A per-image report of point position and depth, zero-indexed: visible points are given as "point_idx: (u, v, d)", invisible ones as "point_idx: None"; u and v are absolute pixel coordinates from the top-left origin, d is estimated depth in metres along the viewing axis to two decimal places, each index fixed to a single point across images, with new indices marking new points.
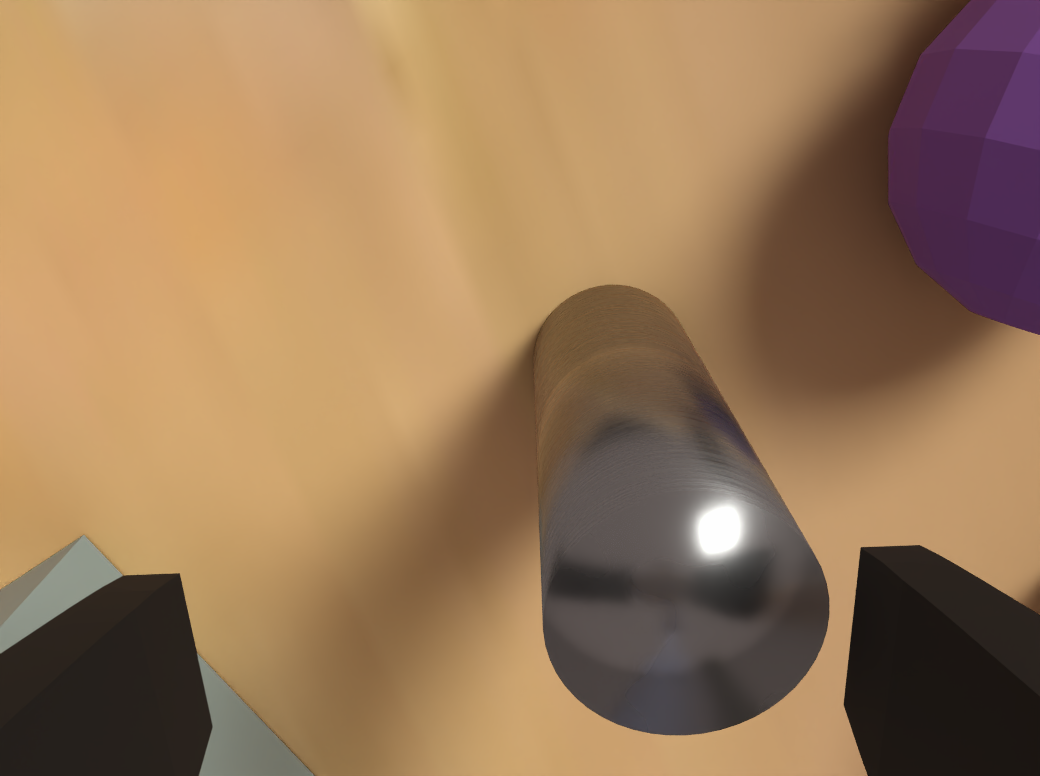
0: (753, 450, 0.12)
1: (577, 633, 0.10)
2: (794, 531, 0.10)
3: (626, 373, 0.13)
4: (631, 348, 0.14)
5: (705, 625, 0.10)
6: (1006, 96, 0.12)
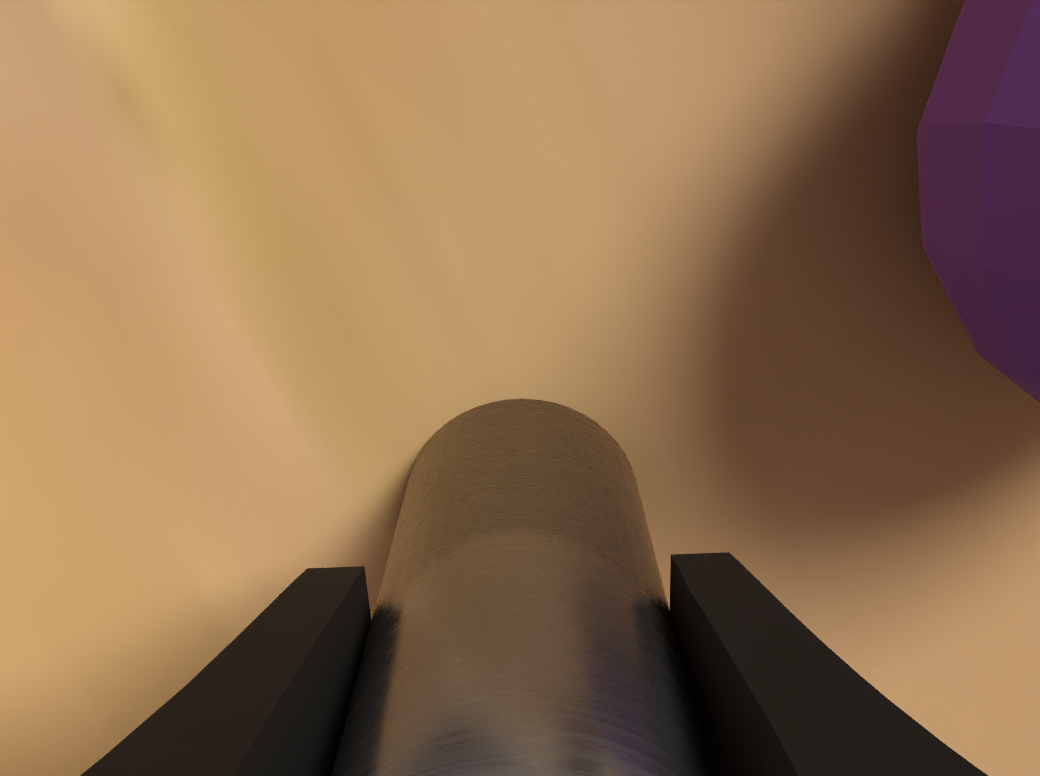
0: None
1: None
2: None
3: (468, 654, 0.07)
4: (496, 571, 0.08)
5: None
6: None
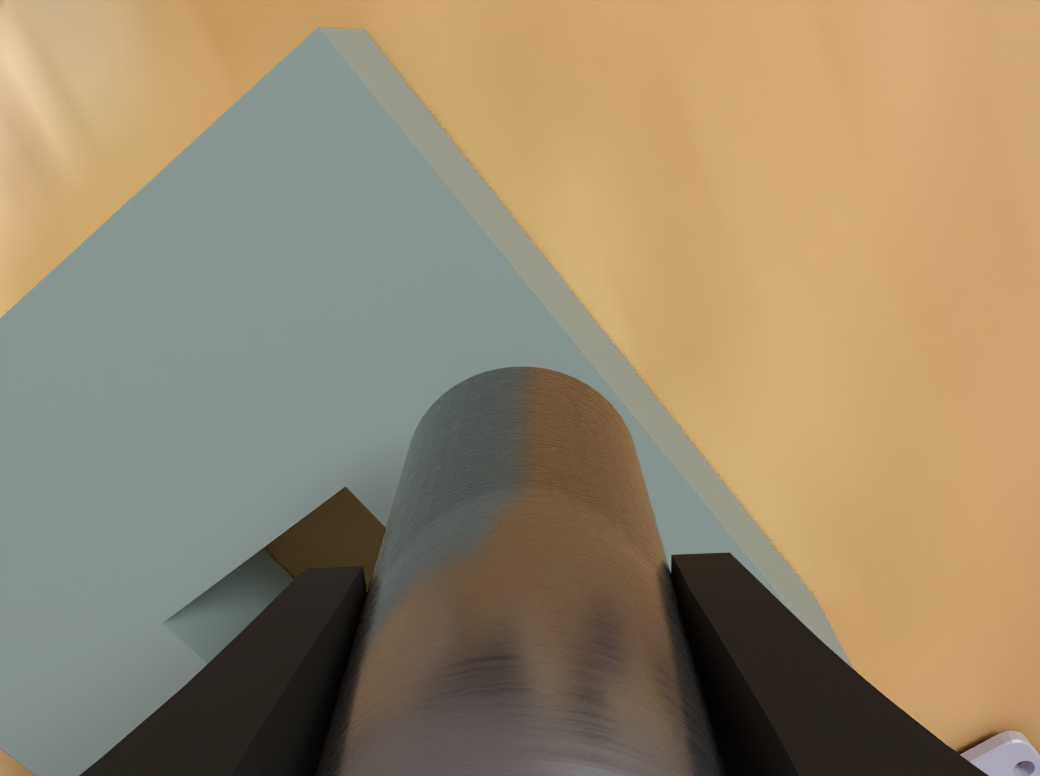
0: None
1: None
2: None
3: (508, 588, 0.07)
4: (532, 518, 0.08)
5: None
6: None
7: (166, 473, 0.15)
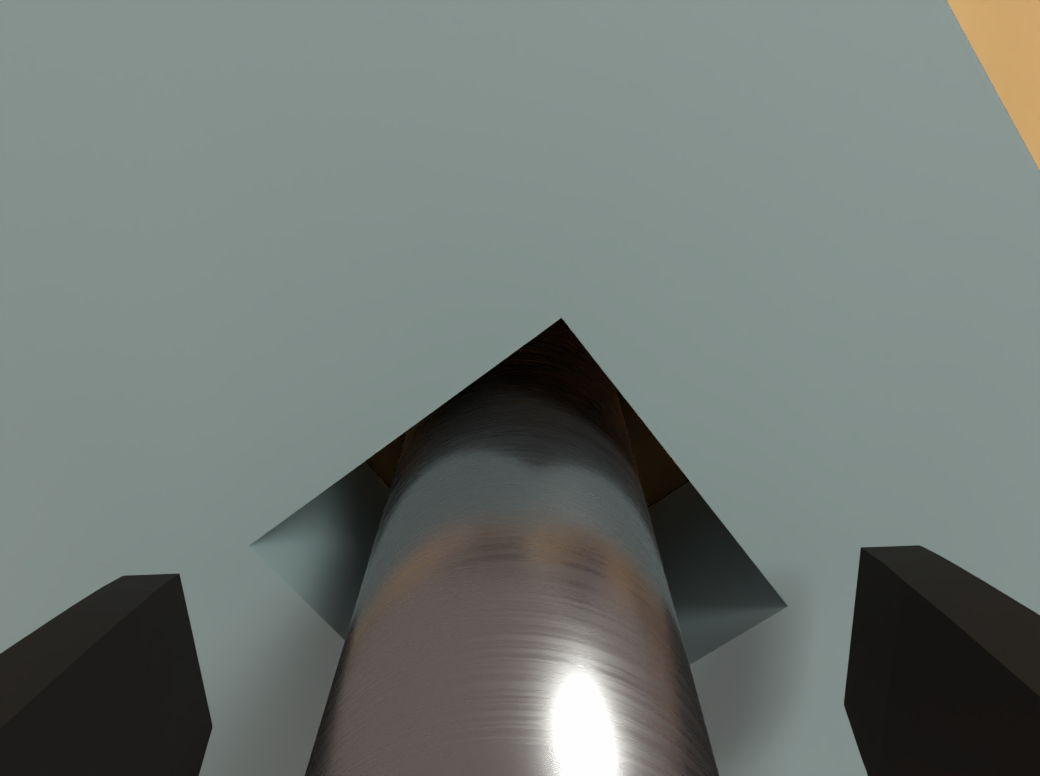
0: (674, 620, 0.08)
1: None
2: None
3: (512, 463, 0.09)
4: (531, 420, 0.10)
5: None
6: None
7: (269, 291, 0.09)
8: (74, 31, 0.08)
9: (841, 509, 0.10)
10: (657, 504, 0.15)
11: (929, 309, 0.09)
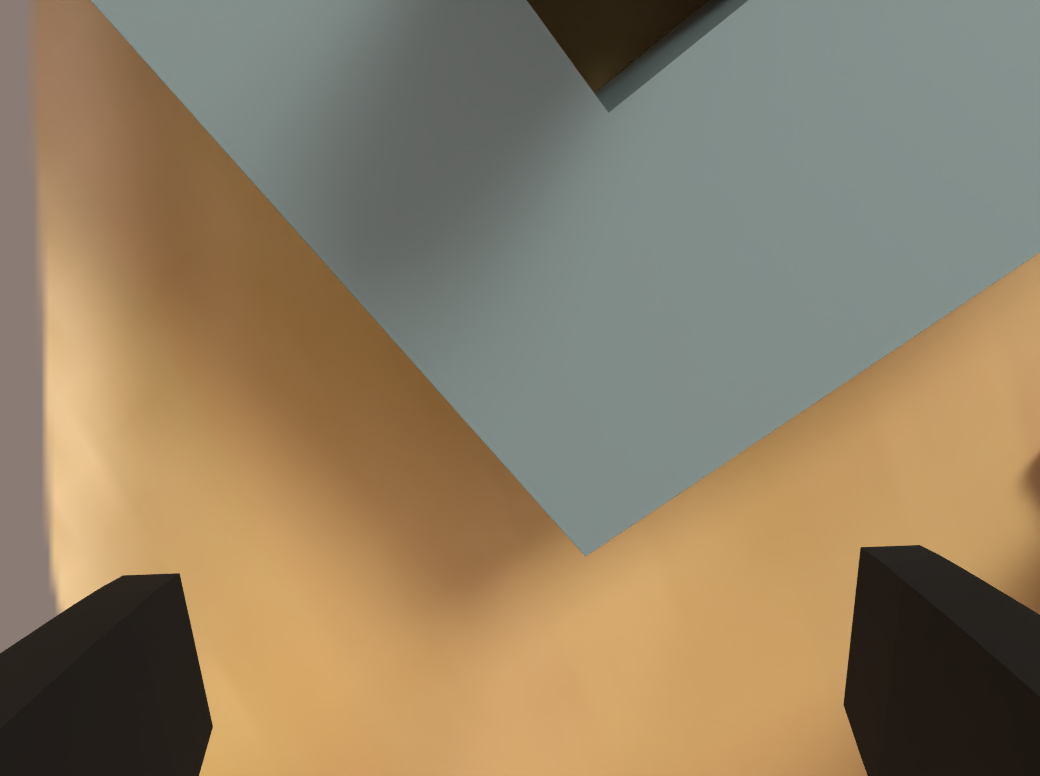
0: None
1: None
2: None
3: None
4: None
5: None
6: None
7: None
8: None
9: None
10: None
11: None
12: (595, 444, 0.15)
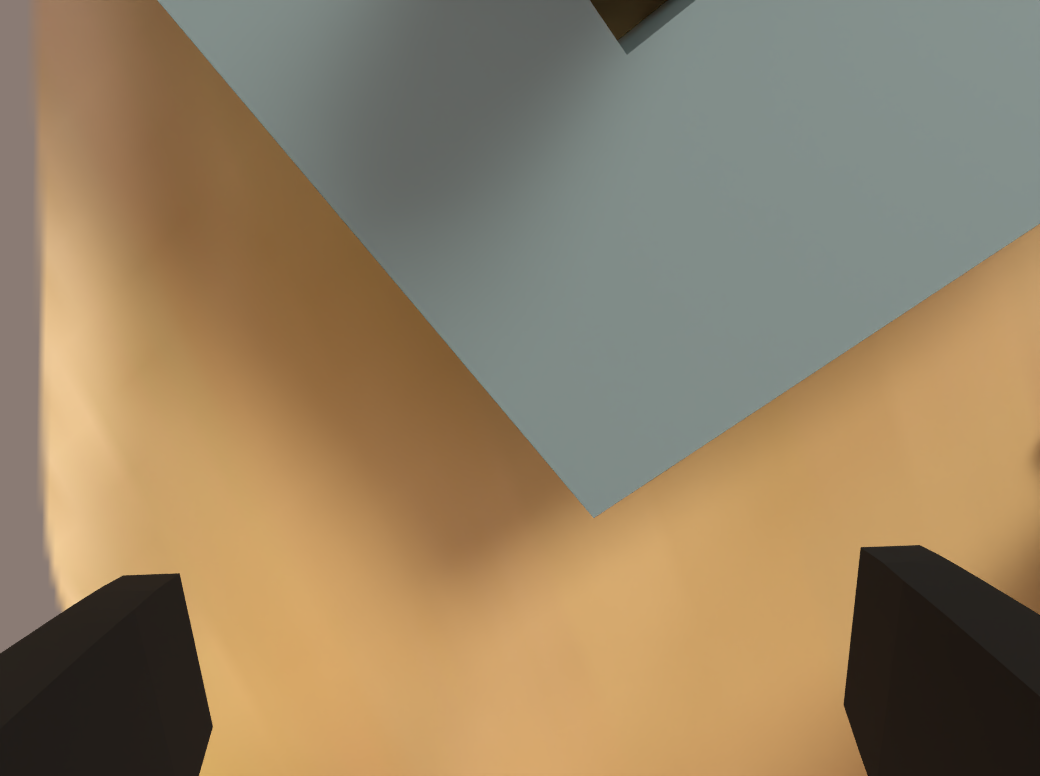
0: None
1: None
2: None
3: None
4: None
5: None
6: None
7: None
8: None
9: None
10: None
11: None
12: (605, 401, 0.14)
